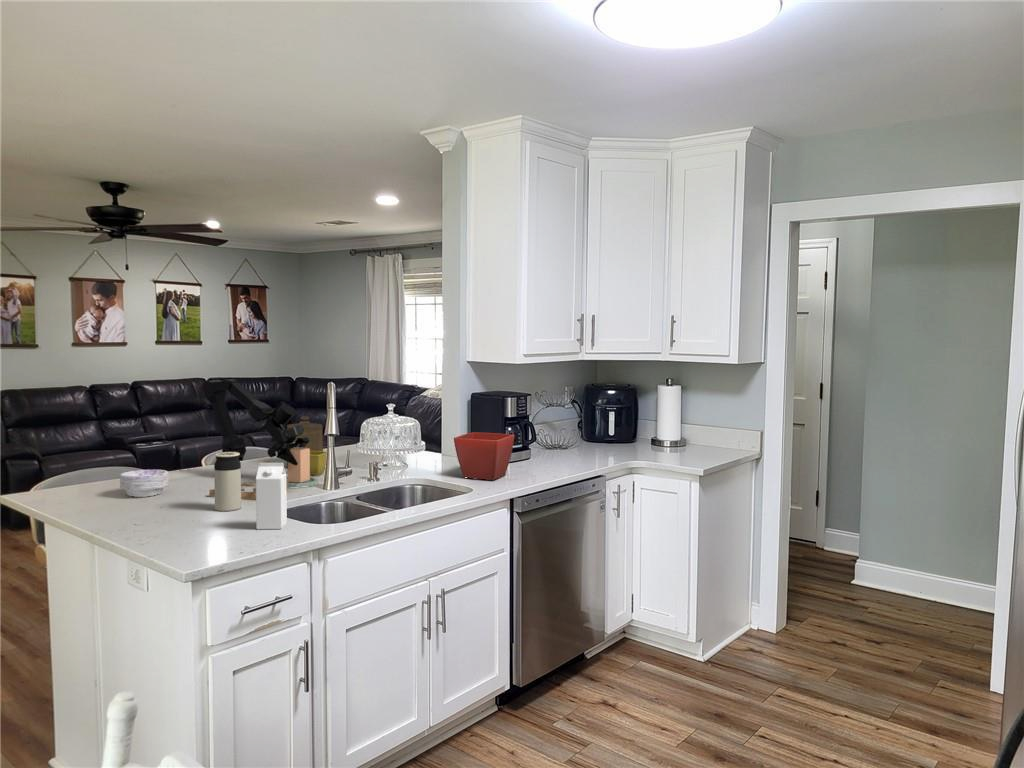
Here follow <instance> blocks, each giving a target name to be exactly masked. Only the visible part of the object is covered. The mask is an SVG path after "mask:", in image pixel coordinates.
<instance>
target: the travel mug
mask: <svg viewBox="0 0 1024 768" xmlns="http://www.w3.org/2000/svg"><path fill="white" fill-rule="evenodd" d="M239 455H240V453H238V452H222V451H221V452H217V453H215V454H214V456H215V459H216V460H215V462H214V464H213V468H214V470H213V472H214V474H213V475H214V477H213V478H214V483H213V484H214V489H215V497H214V509H215V511H218V512H233V511H238V510H239V509H241V508H242V499H241V488H242V487H241V483H242V477H241V475H242V468H241V467H242V465H241V461H239V459H238V458H239Z"/></svg>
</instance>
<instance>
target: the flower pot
mask: <svg viewBox="0 0 1024 768" xmlns="http://www.w3.org/2000/svg"><path fill="white" fill-rule="evenodd" d="M327 452H328V451H324V450H323V451H310V476H312V475H315V477H317V475H318V476H320V475H322V473H323V474H324V472H325V471H324V470H326V469H325V465H326V455H327Z"/></svg>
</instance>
